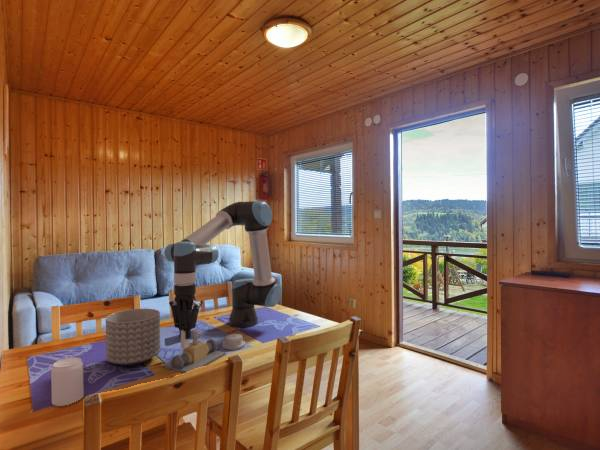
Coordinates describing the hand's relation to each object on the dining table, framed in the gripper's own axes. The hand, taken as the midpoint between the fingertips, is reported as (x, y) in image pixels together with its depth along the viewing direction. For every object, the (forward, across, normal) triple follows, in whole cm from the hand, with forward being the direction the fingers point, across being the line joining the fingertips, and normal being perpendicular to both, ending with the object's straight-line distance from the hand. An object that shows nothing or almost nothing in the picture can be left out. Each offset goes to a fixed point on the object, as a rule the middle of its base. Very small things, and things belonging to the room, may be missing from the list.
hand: (185, 347), depth 129 cm
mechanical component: (+9, -4, -26) cm, 28 cm away
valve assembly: (+8, +1, -8) cm, 11 cm away
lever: (-1, +3, -3) cm, 4 cm away
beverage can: (+9, +18, +31) cm, 37 cm away
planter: (+8, +23, +2) cm, 25 cm away
